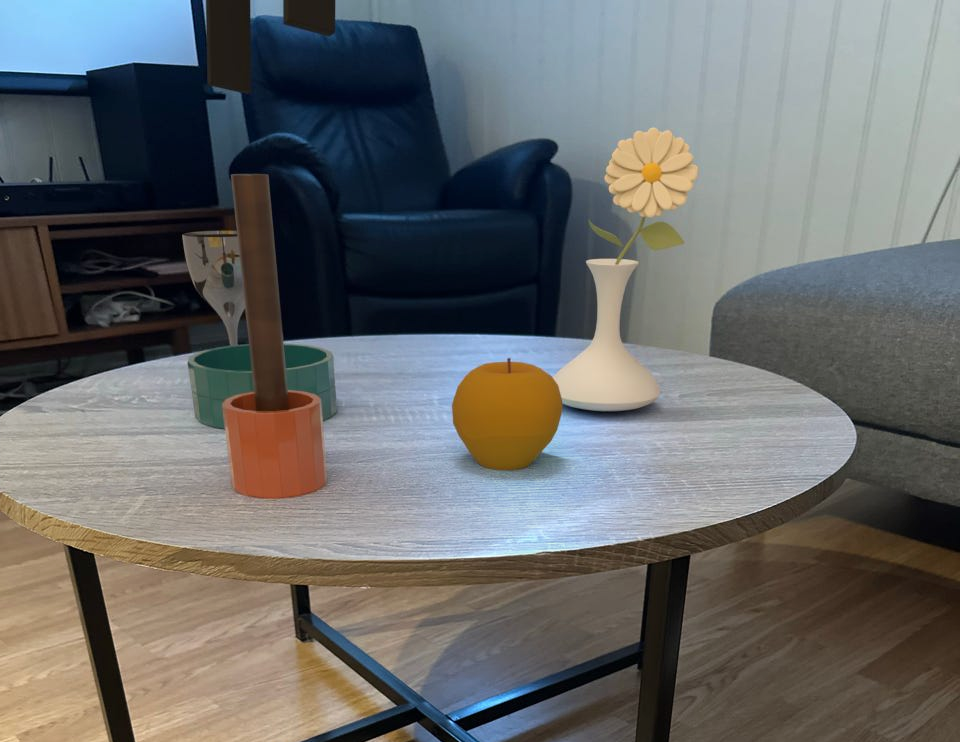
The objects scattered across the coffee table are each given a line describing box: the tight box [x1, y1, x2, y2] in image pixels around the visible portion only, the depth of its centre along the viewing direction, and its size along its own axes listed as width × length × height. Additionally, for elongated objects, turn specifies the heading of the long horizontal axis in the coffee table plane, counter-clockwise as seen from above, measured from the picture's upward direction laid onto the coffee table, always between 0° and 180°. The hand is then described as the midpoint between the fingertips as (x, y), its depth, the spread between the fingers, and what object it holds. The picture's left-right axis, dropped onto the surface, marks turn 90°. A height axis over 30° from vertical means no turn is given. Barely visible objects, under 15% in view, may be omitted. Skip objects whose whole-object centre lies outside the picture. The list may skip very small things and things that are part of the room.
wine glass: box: [181, 230, 245, 346], centre depth 103 cm, size 8×8×15 cm
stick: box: [230, 173, 290, 411], centre depth 66 cm, size 3×2×21 cm
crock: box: [222, 390, 328, 500], centre depth 70 cm, size 7×7×7 cm
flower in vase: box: [552, 127, 699, 412], centre depth 89 cm, size 13×11×25 cm
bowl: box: [187, 343, 338, 430], centre depth 89 cm, size 13×13×6 cm
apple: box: [451, 357, 564, 471], centre depth 75 cm, size 9×9×9 cm
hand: (265, 62), depth 57 cm, fingers open, 13 cm apart
